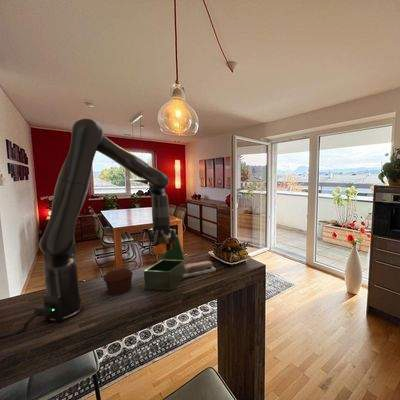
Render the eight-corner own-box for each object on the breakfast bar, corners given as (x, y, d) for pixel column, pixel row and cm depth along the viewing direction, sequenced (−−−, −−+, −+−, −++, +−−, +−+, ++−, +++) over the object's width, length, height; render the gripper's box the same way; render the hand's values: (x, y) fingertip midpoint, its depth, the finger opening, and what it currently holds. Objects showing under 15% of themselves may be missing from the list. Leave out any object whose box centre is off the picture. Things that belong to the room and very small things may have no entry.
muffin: (138, 283, 112) (137, 263, 111) (126, 294, 101) (124, 273, 100) (113, 284, 111) (111, 264, 110) (98, 296, 100) (96, 274, 99)
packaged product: (182, 269, 116) (178, 263, 124) (182, 278, 116) (178, 272, 124) (216, 263, 126) (209, 258, 134) (216, 271, 126) (209, 266, 135)
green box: (170, 290, 105) (169, 272, 104) (145, 288, 106) (143, 270, 105) (185, 276, 119) (184, 260, 118) (162, 275, 121) (162, 259, 120)
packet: (172, 248, 113) (172, 242, 113) (163, 254, 105) (162, 247, 105) (163, 248, 114) (162, 242, 114) (153, 253, 106) (152, 247, 106)
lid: (177, 236, 111) (181, 230, 115) (153, 235, 112) (158, 230, 116) (184, 260, 118) (187, 254, 122) (161, 259, 119) (165, 253, 123)
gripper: (141, 216, 105) (144, 252, 107) (170, 217, 103) (172, 253, 105) (151, 214, 112) (154, 247, 114) (179, 214, 111) (180, 248, 112)
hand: (163, 250), depth 110 cm, fingers closed on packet, 5 cm apart
